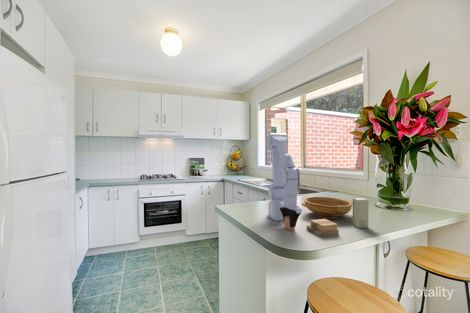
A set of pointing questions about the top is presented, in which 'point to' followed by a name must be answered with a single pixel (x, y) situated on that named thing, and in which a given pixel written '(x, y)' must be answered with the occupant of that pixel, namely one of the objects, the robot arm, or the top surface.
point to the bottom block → (322, 234)
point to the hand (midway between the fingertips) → (289, 225)
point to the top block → (323, 225)
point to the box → (360, 212)
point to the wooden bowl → (328, 206)
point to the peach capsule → (288, 224)
